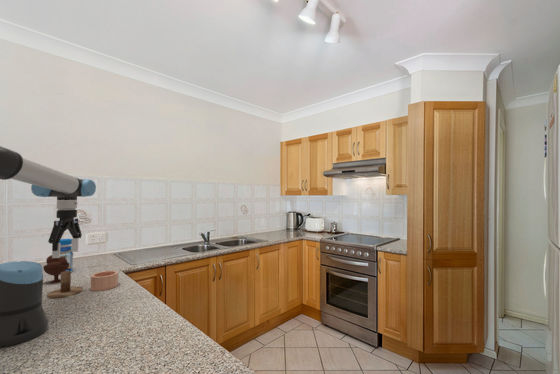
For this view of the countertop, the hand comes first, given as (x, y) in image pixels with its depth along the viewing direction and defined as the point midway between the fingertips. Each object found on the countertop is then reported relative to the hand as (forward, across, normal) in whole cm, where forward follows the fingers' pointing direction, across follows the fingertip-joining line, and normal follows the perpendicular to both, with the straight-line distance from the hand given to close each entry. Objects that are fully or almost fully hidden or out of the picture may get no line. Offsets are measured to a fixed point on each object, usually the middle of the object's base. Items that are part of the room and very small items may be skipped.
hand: (65, 254), depth 123 cm
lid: (+18, 0, 0) cm, 18 cm away
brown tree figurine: (+19, +20, +16) cm, 32 cm away
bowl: (+18, +6, -14) cm, 24 cm away
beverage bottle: (+18, +40, +24) cm, 50 cm away
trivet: (+18, 0, 0) cm, 18 cm away
